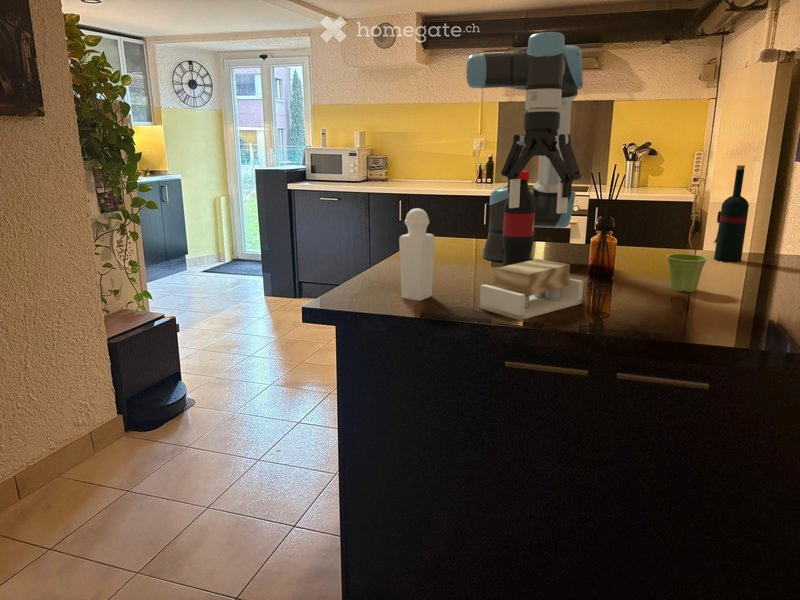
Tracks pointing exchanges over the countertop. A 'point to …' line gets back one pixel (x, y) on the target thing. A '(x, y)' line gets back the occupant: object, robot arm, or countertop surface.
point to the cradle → (530, 300)
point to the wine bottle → (732, 223)
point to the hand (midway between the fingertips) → (536, 210)
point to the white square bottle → (416, 257)
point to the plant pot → (685, 271)
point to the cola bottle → (519, 226)
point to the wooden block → (532, 276)
